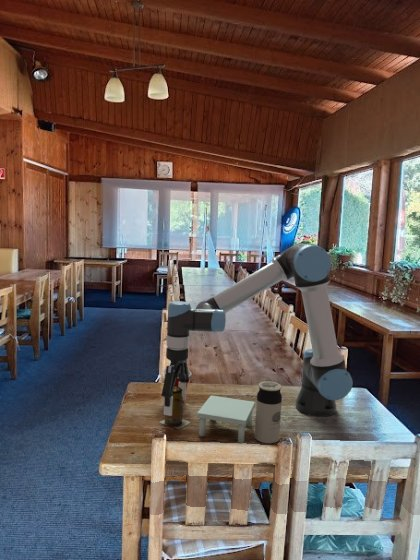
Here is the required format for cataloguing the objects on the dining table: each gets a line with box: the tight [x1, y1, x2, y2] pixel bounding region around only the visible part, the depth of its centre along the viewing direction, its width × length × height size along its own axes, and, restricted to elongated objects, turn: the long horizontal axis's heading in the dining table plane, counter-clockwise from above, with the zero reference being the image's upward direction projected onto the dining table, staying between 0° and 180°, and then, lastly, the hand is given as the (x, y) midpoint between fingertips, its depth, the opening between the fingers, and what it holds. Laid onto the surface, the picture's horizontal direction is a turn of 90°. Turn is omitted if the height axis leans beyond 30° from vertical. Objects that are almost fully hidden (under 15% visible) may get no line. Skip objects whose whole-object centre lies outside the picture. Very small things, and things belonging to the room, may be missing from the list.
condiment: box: [159, 387, 192, 430], centre depth 154 cm, size 7×8×12 cm
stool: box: [196, 395, 256, 444], centre depth 150 cm, size 16×16×8 cm
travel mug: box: [254, 381, 283, 444], centre depth 145 cm, size 8×8×18 cm
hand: (175, 407), depth 154 cm, fingers open, 13 cm apart
